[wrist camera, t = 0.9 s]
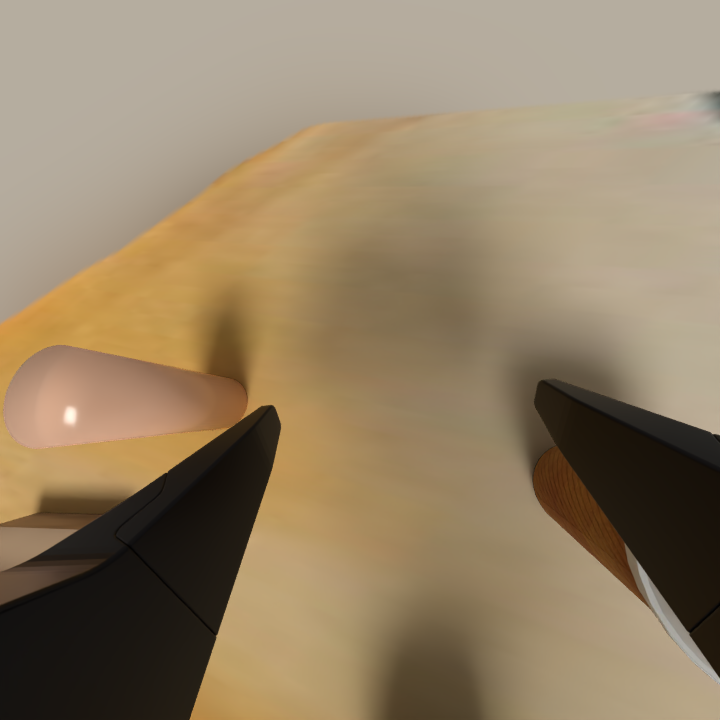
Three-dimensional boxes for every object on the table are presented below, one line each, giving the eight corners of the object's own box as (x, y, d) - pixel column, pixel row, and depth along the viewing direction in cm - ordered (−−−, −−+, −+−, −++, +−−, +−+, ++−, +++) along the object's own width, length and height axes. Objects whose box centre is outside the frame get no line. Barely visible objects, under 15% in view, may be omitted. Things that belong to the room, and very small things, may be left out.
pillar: (245, 428, 24) (83, 448, 11) (197, 429, 25) (-8, 448, 12) (248, 377, 25) (103, 342, 12) (202, 378, 25) (17, 347, 13)
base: (114, 646, 22) (70, 682, 19) (13, 636, 23) (-43, 670, 20) (132, 515, 24) (95, 530, 21) (38, 512, 25) (-9, 526, 22)
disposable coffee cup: (485, 477, 21) (605, 560, 9) (569, 398, 21) (785, 384, 10) (583, 584, 19) (898, 866, 7) (674, 495, 19) (1112, 626, 8)
